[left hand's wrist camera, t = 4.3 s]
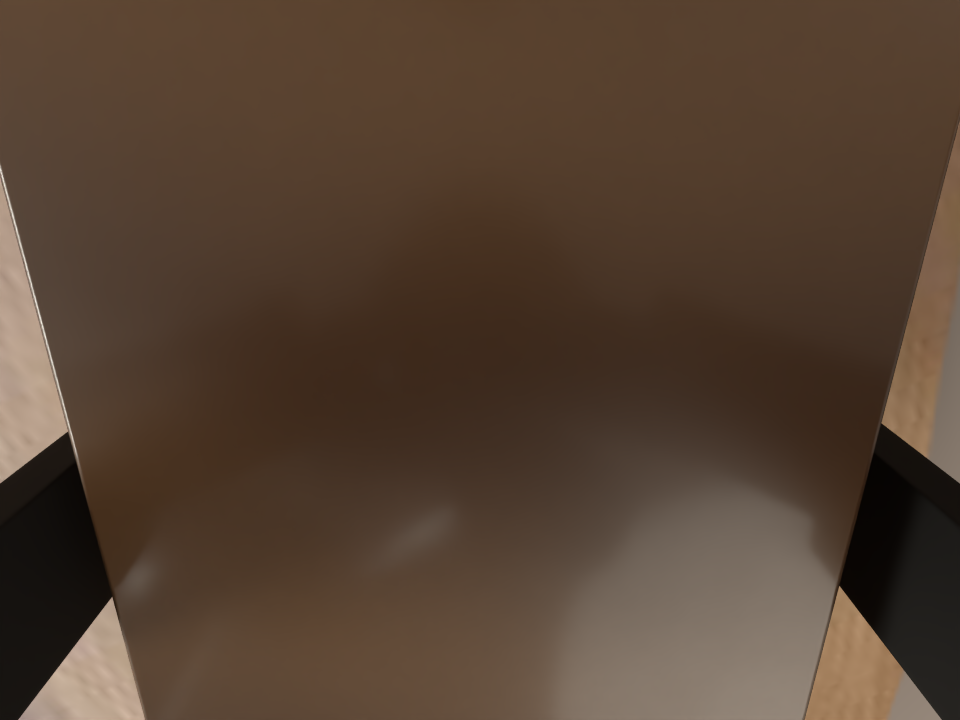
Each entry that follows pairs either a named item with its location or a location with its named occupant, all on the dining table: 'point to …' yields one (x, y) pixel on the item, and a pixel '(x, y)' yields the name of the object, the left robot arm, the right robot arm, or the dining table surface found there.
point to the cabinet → (475, 335)
